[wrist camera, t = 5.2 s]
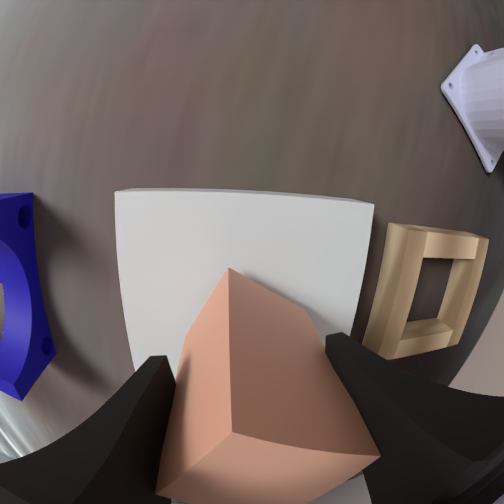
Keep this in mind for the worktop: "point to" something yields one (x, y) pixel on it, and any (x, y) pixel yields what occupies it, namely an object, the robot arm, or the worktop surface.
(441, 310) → the socket
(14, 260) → the cable clip
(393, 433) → the robot arm
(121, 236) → the platform
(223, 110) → the worktop surface
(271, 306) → the block
